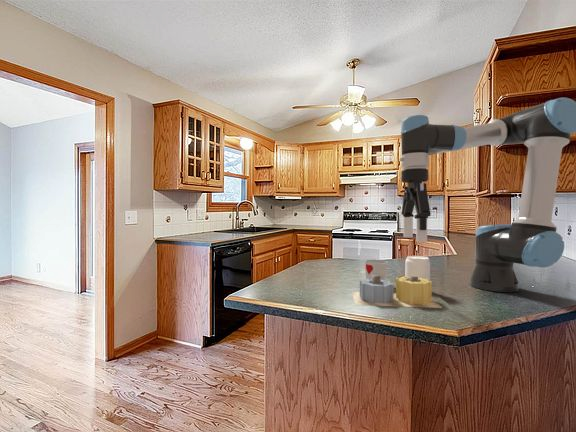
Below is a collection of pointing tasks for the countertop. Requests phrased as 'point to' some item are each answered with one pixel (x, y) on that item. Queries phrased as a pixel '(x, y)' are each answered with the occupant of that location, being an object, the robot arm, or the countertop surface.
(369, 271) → the cup
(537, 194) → the robot arm
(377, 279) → the gear board
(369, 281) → the gear
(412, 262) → the beverage can
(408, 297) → the gear
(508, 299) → the countertop surface
